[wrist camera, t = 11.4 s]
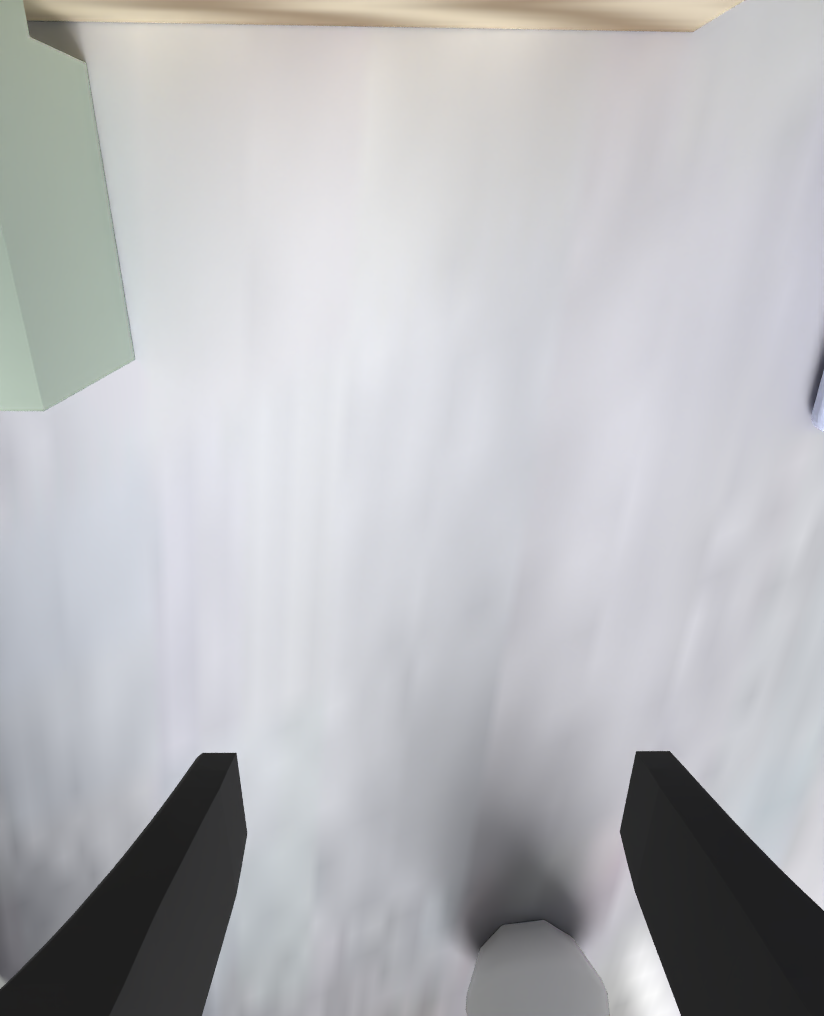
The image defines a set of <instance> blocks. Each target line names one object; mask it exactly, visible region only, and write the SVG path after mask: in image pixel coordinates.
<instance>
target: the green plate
mask: <svg viewBox="0 0 824 1016" xmlns="http://www.w3.org/2000/svg"><path fill="white" fill-rule="evenodd" d="M134 360H135V357H134V351H133V345H132V339H131V333H130V327H129V321H128V315H127V309H126V302H125V296H124V290H123V284H122V278H121V272H120V266H119V260H118V254H117V248H116V242H115V236H114V230H113V224H112V218H111V212H110V206H109V200H108V193H107V187H106V181H105V175H104V169H103V163H102V157H101V151H100V145H99V139H98V133H97V127H96V121H95V115H94V109H93V103H92V97H91V91H90V84H89V78H88V72H87V66H86V63H85V62H83V61H81V60H79V59H76V58H74V57H72V56H70V55H68V54H66V53H64V52H61V51H59V50H57V49H55V48H53V47H51V46H49V45H46V44H44V43H42V42H40V41H38V40H36V39H33V38H31V37H30V35H29V30H28V25H27V20H26V15H25V9H24V4H23V0H0V411H45V410H47V409H49V408H51V407H52V406H54V405H56V404H58V403H59V402H61V401H63V400H65V399H66V398H68V397H70V396H72V395H74V394H75V393H77V392H79V391H81V390H82V389H84V388H86V387H88V386H89V385H91V384H93V383H95V382H97V381H98V380H100V379H102V378H104V377H105V376H107V375H109V374H111V373H112V372H114V371H116V370H118V369H120V368H121V367H123V366H125V365H127V364H128V363H130V362H132V361H134Z"/></svg>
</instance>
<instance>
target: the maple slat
mask: <svg viewBox="0 0 824 1016" xmlns="http://www.w3.org/2000/svg"><path fill="white" fill-rule="evenodd" d="M743 1H745V0H23V4H24V9H25V15H26V20H27V21H76V22H135V23H195V24H254V25H313V26H372V27H431V28H490V29H549V30H609V31H668V32H694V31H695V30H697V29H699V28H700V27H702V26H704V25H705V24H707V23H708V22H710V21H712V20H713V19H715V18H717V17H718V16H720V15H722V14H723V13H725V12H727V11H728V10H730V9H732V8H733V7H735V6H736V5H738V4H740V3H741V2H743Z"/></svg>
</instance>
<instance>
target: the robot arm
mask: <svg viewBox="0 0 824 1016" xmlns="http://www.w3.org/2000/svg"><path fill="white" fill-rule="evenodd" d="M812 422H813V425H814V426H815V427H816V428H818V429H819V430H821V431H823V432H824V371H823V375H822V379H821V382H820V386H819V390H818V393H817V397H816V401H815V404H814V408H813V411H812ZM620 834H621V838H622V842H623V846H624V850H625V855H626V859H627V863H628V867H629V871H630V874H631V878H632V882H633V886H634V889H635V893H636V896H637V898H638V901H639V904H640V907H641V909H642V912H643V915H644V918H645V920H646V923H647V926H648V928H649V931H650V934H651V937H652V939H653V942H654V945H655V947H656V950H657V953H658V955H659V958H660V961H661V963H662V966H663V969H664V971H665V974H666V977H667V979H668V982H669V985H670V987H671V990H672V993H673V995H674V998H675V1001H676V1003H677V1006H678V1009H679V1011H680V1014H681V1016H824V911H823V910H822V909H821V908H820V907H819V906H818V905H817V904H816V903H815V902H814V901H813V900H812V899H811V898H810V897H809V896H808V895H806V894H805V893H804V892H803V891H802V890H801V889H800V888H799V887H798V886H797V885H796V884H795V883H794V882H793V881H792V880H791V879H790V878H789V877H788V876H787V875H786V874H785V873H784V872H783V871H782V870H781V869H780V868H779V867H778V866H777V865H776V864H775V863H774V862H773V861H772V860H771V859H770V858H769V857H768V856H767V855H766V854H765V853H764V852H763V851H762V850H761V849H760V848H759V847H758V846H757V845H756V844H755V843H754V842H753V841H752V840H751V839H750V838H749V837H748V836H747V835H746V833H745V832H744V831H743V830H742V829H741V828H740V827H739V826H738V825H737V824H736V823H735V822H734V821H733V820H732V819H731V818H730V817H729V815H728V814H727V813H726V812H725V811H724V810H723V809H722V808H721V807H720V806H719V805H718V804H717V802H716V801H715V800H714V799H713V798H712V797H711V796H710V795H709V794H708V793H707V791H706V790H705V789H704V788H703V787H702V786H701V785H700V784H699V783H698V782H697V780H696V779H695V778H694V777H693V776H692V775H691V774H690V773H689V772H688V771H687V769H686V768H685V767H684V766H683V765H682V764H681V763H680V762H679V761H678V760H677V759H676V757H675V756H674V755H673V754H672V753H671V752H670V751H636V755H635V759H634V764H633V769H632V774H631V779H630V784H629V789H628V794H627V799H626V804H625V809H624V814H623V819H622V823H621V828H620ZM246 838H247V828H246V821H245V813H244V806H243V799H242V791H241V784H240V776H239V769H238V761H237V754H236V753H202V754H201V755H200V756H198V757H197V758H196V760H195V761H194V763H193V764H192V765H191V767H190V768H189V770H188V771H187V773H186V774H185V775H184V777H183V778H182V780H181V781H180V782H179V784H178V785H177V787H176V788H175V789H174V791H173V792H172V793H171V795H170V796H169V798H168V799H167V800H166V802H165V803H164V804H163V806H162V807H161V808H160V810H159V811H158V812H157V814H156V815H155V816H154V818H153V819H152V820H151V822H150V823H149V824H148V825H147V827H146V828H145V829H144V830H143V832H142V833H141V834H140V835H139V837H138V838H137V839H136V841H135V842H134V843H133V844H132V846H131V847H130V848H129V849H128V851H127V852H126V853H125V854H124V856H123V857H122V858H121V859H120V861H119V862H118V863H117V864H116V865H115V867H114V868H113V869H112V870H111V871H110V873H109V874H108V875H107V876H106V877H105V878H104V879H103V881H102V882H101V883H100V884H99V885H98V886H97V888H96V889H95V890H94V891H93V892H92V893H91V894H90V896H89V897H88V898H87V899H86V900H85V901H84V903H83V904H82V905H81V906H80V907H79V908H78V910H77V911H76V912H75V913H74V914H73V915H72V916H71V917H70V918H69V919H68V921H67V922H66V923H65V924H64V925H63V926H62V927H61V928H60V929H59V930H58V931H57V932H56V933H55V935H54V936H53V937H52V938H51V939H50V940H49V941H48V942H47V943H46V944H45V945H44V946H43V947H42V948H41V949H40V950H39V951H38V952H37V953H36V954H35V955H34V956H33V957H32V958H31V959H30V960H29V961H28V962H27V963H26V964H25V965H24V966H23V968H22V969H21V970H20V971H19V972H18V973H16V974H15V975H14V976H13V977H12V978H11V979H10V980H9V981H8V982H7V983H6V984H5V985H4V986H3V987H2V988H1V989H0V1016H202V1013H203V1009H204V1006H205V1003H206V999H207V996H208V992H209V989H210V985H211V982H212V978H213V975H214V971H215V968H216V965H217V961H218V958H219V954H220V951H221V947H222V944H223V940H224V937H225V933H226V930H227V926H228V923H229V919H230V916H231V912H232V909H233V905H234V901H235V898H236V894H237V889H238V883H239V878H240V872H241V867H242V861H243V855H244V850H245V844H246Z"/></svg>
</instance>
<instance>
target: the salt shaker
mask: <svg viewBox="0 0 824 1016" xmlns="http://www.w3.org/2000/svg"><path fill="white" fill-rule="evenodd" d="M466 1013H467V1016H610V1012H609V1003H608V993H607V991H606V989H605V986H604V984H603V981H602V979H601V978H600V976H599V975H598V973H597V972H596V971H595V969H594V968H593V966H592V965H591V963H590V962H589V960H588V959H587V958H586V956H585V955H584V953H583V952H582V950H581V949H580V947H579V946H578V945H577V943H576V942H575V940H574V939H573V937H571V936H569V935H568V934H566V933H565V932H563V931H561V930H560V929H558V928H556V927H555V926H553V925H552V924H550V923H548V922H547V921H545V920H539V921H531V922H522V923H514V924H506V925H502V926H501V927H500V928H499V929H498V930H497V931H496V932H495V933H494V934H493V935H492V936H491V937H490V938H489V939H488V941H487V942H486V943H485V944H484V945H483V946H482V947H481V948H480V950H479V954H478V957H477V961H476V964H475V968H474V971H473V975H472V978H471V982H470V985H469V989H468V992H467V996H466Z"/></svg>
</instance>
